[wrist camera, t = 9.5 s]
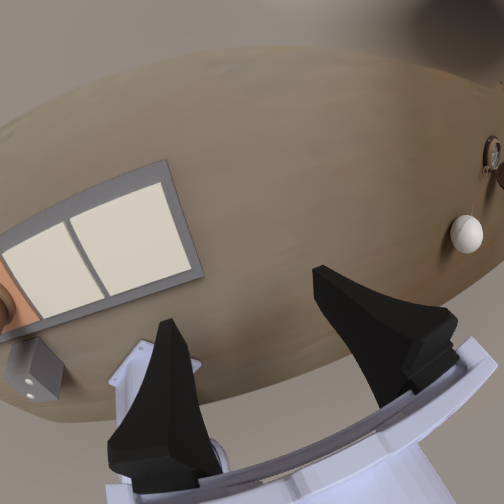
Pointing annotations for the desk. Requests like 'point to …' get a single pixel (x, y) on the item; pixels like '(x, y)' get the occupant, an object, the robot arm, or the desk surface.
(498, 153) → the compass
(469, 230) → the seamed sphere
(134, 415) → the robot arm
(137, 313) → the desk surface
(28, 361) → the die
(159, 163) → the board
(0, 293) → the pawn
